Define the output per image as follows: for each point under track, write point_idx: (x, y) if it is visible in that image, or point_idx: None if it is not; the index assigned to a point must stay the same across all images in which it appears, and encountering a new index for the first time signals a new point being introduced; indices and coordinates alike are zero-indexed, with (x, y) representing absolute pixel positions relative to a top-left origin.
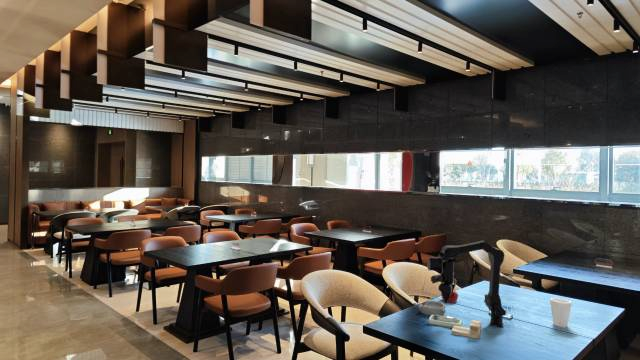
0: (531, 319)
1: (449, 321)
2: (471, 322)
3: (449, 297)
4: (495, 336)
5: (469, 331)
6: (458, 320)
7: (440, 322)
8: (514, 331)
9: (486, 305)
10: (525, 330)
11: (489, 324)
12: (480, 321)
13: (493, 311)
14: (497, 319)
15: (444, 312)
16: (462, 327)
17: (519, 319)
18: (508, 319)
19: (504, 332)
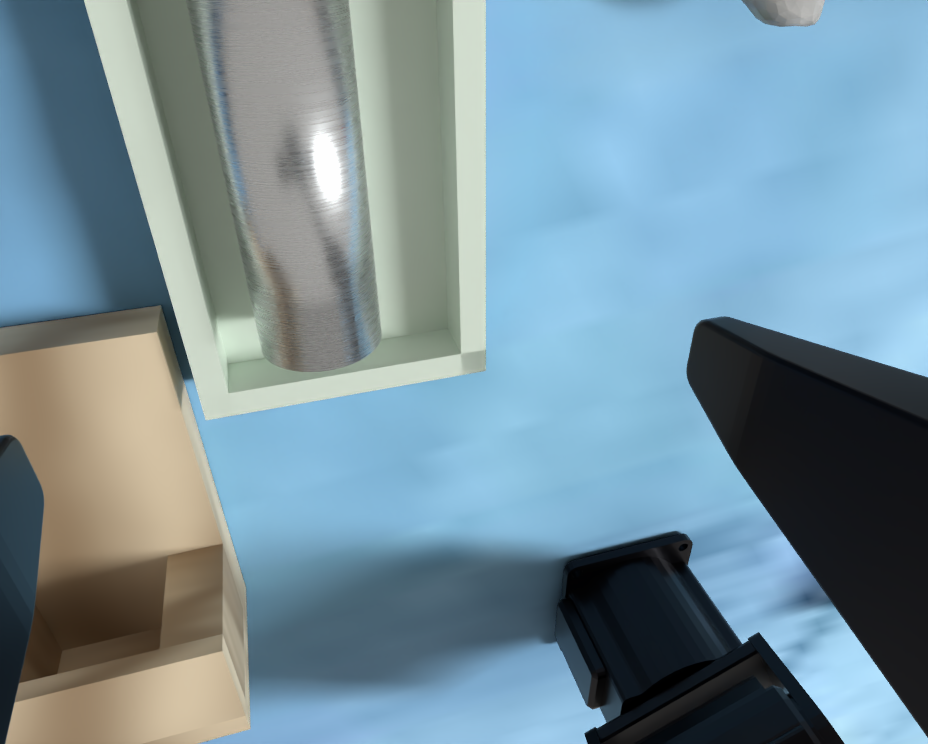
0: (833, 680)
1: (239, 241)
2: (68, 692)
3: (699, 387)
4: (255, 687)
5: (59, 566)
6: (455, 320)
7: (107, 67)
8: (503, 713)
9: (750, 700)
10: (569, 738)
11: (572, 564)
12: (232, 727)
13: (674, 704)
14: (581, 684)
15: (746, 4)
16: (159, 455)
17: (815, 641)
18: (796, 599)
19: (429, 687)
